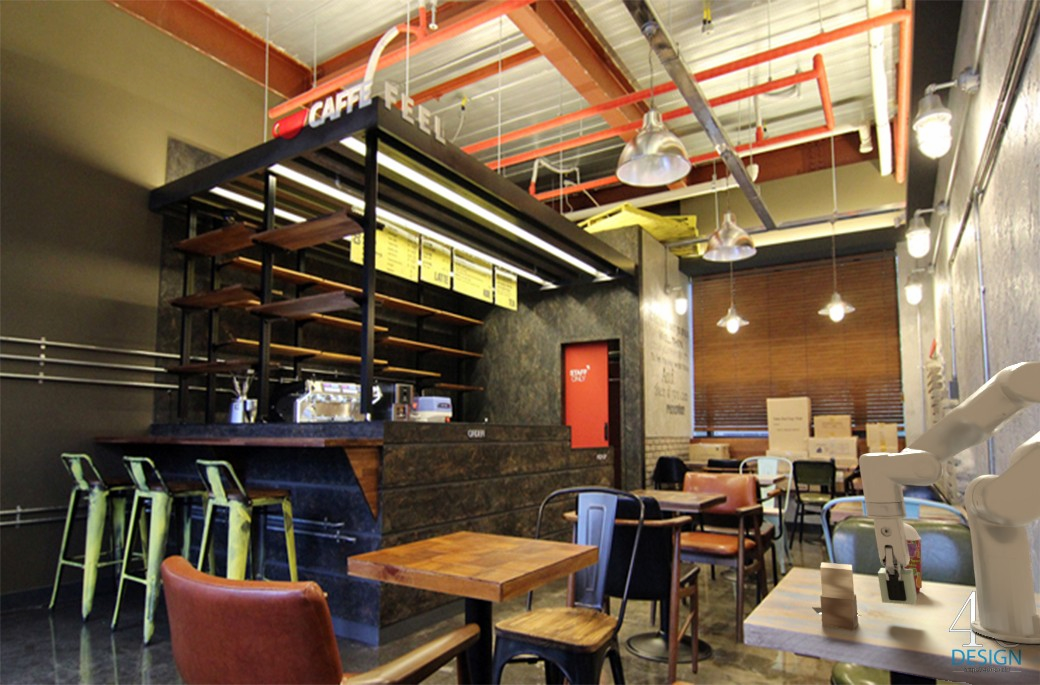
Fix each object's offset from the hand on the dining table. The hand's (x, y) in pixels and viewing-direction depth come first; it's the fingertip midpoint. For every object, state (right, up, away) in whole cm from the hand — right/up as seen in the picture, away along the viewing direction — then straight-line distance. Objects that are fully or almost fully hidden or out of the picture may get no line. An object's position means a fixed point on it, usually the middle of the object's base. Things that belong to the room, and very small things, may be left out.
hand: (899, 595), depth 135 cm
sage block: (0, -1, 0) cm, 1 cm away
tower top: (-13, 0, 0) cm, 13 cm away
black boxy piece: (-9, -8, +9) cm, 15 cm away
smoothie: (+19, -11, +29) cm, 36 cm away
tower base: (-13, -6, -1) cm, 14 cm away
